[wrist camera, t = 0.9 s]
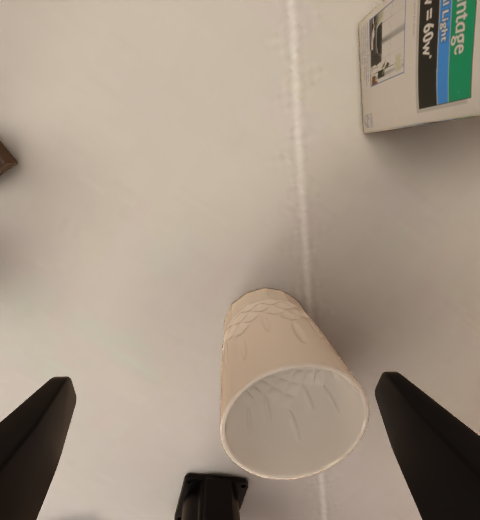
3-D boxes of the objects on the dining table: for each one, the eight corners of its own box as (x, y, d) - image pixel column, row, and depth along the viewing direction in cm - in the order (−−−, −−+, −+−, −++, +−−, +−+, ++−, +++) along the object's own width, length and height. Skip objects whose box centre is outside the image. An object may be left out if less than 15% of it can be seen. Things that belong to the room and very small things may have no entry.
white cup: (198, 336, 25) (189, 447, 15) (255, 262, 23) (285, 336, 13) (271, 377, 27) (304, 497, 17) (329, 312, 25) (400, 407, 16)
